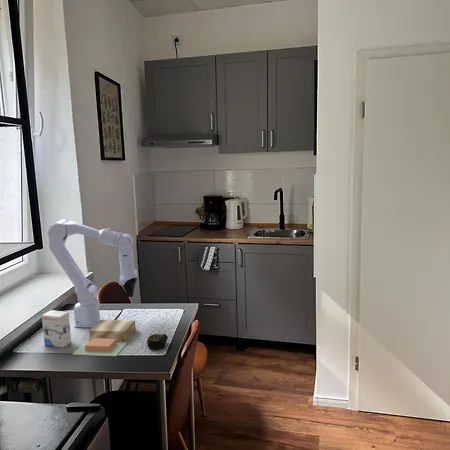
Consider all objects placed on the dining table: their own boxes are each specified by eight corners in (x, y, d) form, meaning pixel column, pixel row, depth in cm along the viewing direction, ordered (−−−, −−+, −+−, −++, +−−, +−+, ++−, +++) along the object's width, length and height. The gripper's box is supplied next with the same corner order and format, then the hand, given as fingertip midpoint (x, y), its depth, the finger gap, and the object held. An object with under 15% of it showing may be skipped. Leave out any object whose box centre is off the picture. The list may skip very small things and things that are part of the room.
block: (92, 338, 151) (93, 343, 151) (84, 345, 145) (85, 351, 145) (116, 338, 149) (116, 343, 150) (108, 346, 144) (109, 351, 144)
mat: (72, 354, 144) (72, 354, 144) (86, 341, 153) (86, 341, 153) (116, 356, 141) (116, 355, 141) (127, 343, 151) (127, 342, 151)
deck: (90, 340, 154) (89, 330, 154) (102, 329, 164) (101, 319, 163) (125, 341, 152) (124, 331, 151) (135, 330, 162) (135, 320, 161)
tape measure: (165, 351, 144) (164, 341, 143) (145, 351, 144) (144, 341, 143) (168, 342, 150) (167, 332, 150) (149, 342, 151) (149, 333, 150)
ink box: (44, 345, 152) (40, 315, 150) (53, 339, 157) (50, 309, 155) (63, 348, 149) (59, 317, 147) (72, 341, 154) (69, 311, 152)
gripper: (129, 269, 159) (132, 303, 162) (143, 259, 173) (145, 290, 176) (112, 269, 161) (115, 302, 163) (126, 259, 175) (129, 290, 177)
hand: (130, 296), depth 169 cm, fingers closed
